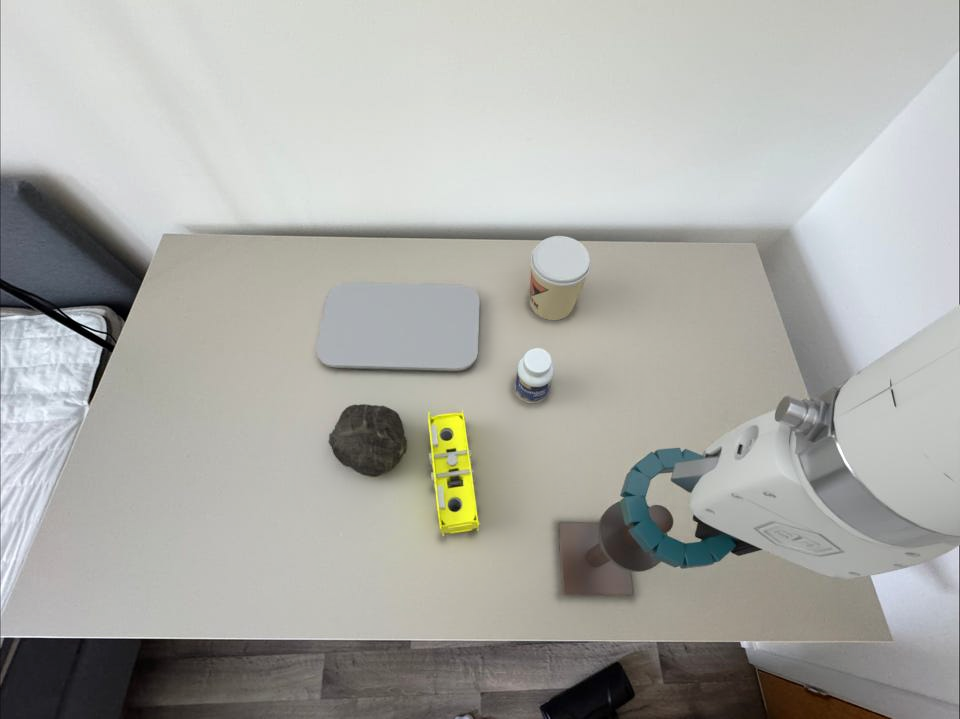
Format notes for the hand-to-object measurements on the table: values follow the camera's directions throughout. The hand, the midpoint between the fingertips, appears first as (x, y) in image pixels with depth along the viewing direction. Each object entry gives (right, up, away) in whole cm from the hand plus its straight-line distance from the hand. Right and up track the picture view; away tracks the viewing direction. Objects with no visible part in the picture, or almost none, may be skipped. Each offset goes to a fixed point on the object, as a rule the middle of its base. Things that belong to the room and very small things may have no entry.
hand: (720, 527), depth 39 cm
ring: (-3, +1, +1) cm, 3 cm away
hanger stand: (-3, -14, +29) cm, 32 cm away
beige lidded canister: (-6, +23, +49) cm, 54 cm away
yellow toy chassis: (-22, -4, +34) cm, 41 cm away
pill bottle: (-10, +8, +41) cm, 43 cm away
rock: (-35, 0, +36) cm, 50 cm away
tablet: (-32, +18, +46) cm, 59 cm away
